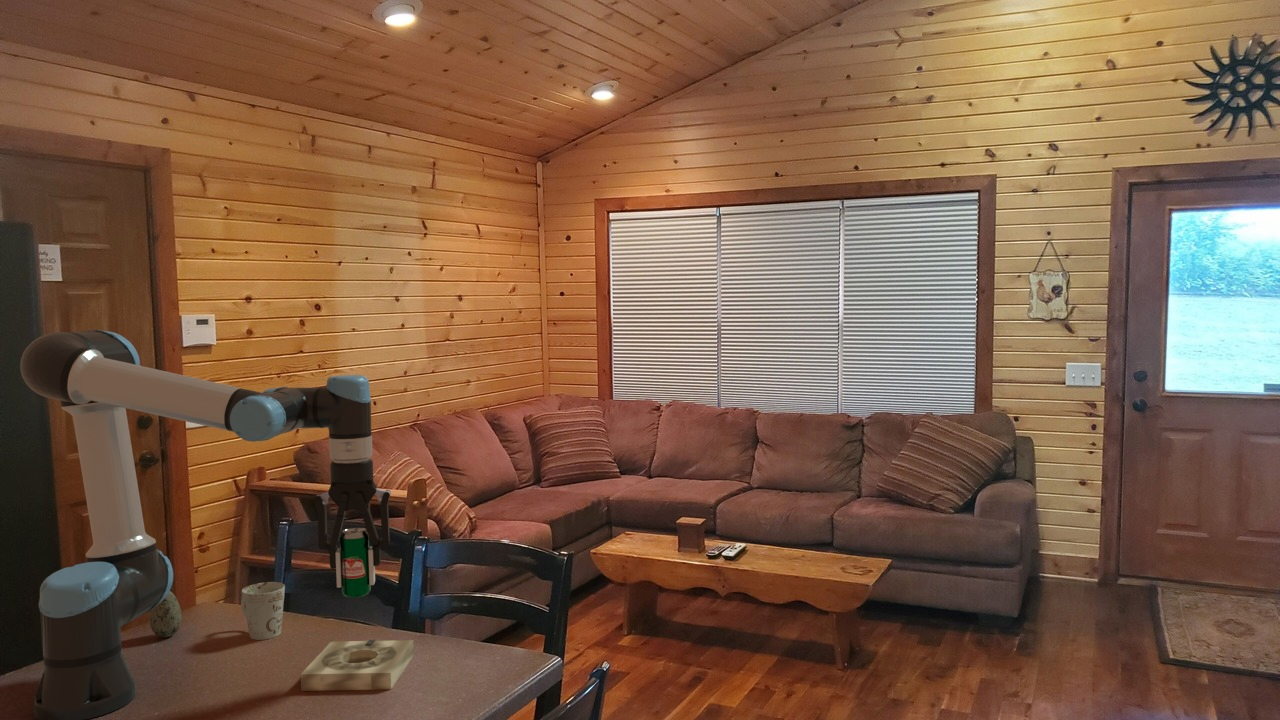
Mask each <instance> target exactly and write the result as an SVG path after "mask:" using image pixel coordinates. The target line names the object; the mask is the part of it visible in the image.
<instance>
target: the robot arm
mask: <svg viewBox="0 0 1280 720" xmlns="http://www.w3.org/2000/svg"><path fill="white" fill-rule="evenodd" d="M19 367H20V374H21V376H22V379H23V381H24V382H25V384H26V385H27V387H28V388H30V390H32V391H33V392H34V393H36V394H38V395H39V396H42V397H45V398H47V399H52V400H57V401H59V402H60V408H61V409H62V410H63V411H65V412H66V413H68V414H70V415H71V416H72V421H73V426H74V432H75V440H76V445H77V451H78V457H79V463H80V470H81V476H82V481H83V482H82V483H83V487H84V494H85V499H86V505H87V506H86V507H87V513H88V519H89V524H90V529H91V530H90V531H91V536H92V546H91V547H89V549H88V551H87V552H86V553H85V559H86V562H82V563H77V564H75V565H73V566H69V567H68V566H67V567H64V568H61V569H59V570H56V571H55V572H53V573H51V574H50V575H49V576H47V577H46V578H45V579H44V580H43V582H42V583H41V585H40V587H39V601H38V609H39V612H40V625H41V644H42V655H43V657H42V658H43V669H42V672H41V677H40V679H39V683H38V686H37V689H36V693H35V695H34V700H33V713H34V714H33V715H34V718H35V719H37V720H88V719H93V718H95V717H100V716H102V715H106V714H108V713H111V712H114V711H116V710H118V709H121V708H122V707H124V706H126V705H128V704H129V703H131V701H132V700H133V699H134V698H135V696H136V682H135V679H134V676H133V675H132V672H131V670H130V668H129V666H128V665H129V664H128V663H127V662H126V661H127V660H126V659H125V657H124V655H123V651H122V632H121V631H122V630H121V629H122V627H123V626H125V625H127V624H128V623H130V622H132V621H134V620H135V619H136V618H139V617H141V616H143V615H146V614H147V613H149V612H151V610H152V609H153V608H155V607H156V606H157V605H158V604H159V603H160V602H162V601H163V600H164V599H165V597H166V596H167V595H168V593H169V591H171V588H172V586H173V583H174V569H173V566H172V563H171V561H170V559H169V558H168V556H166V555H164V554H163V552H162V551H161V550H159V549H158V548H157V547H158V546H157V540H156V538H154V537H152V536H151V535H149V534H148V533H147V532H146V528H145V523H144V517H143V509H142V505H141V504H142V503H141V497H140V491H139V485H138V479H137V473H136V465H135V460H134V453H133V446H132V441H131V435H130V433H131V432H130V428H129V423H128V415H127V410H126V409H129V410H133V411H138V412H142V413H146V414H150V415H155V416H158V417H159V416H160V417H164V418H169V419H174V420H178V421H183V422H187V423H192V424H195V425H201V426H206V427H210V428H213V429H219V430H223V431H229V432H232V433H234V434H236V435H237V436H238V437H239V438H240V439H242V440H244V441H247V442H251V443H252V442H253V443H254V442H264V441H269V440H271V439H273V438H275V437H278V436H280V435H282V434H287V433H289V432H292V431H296V430H299V429H325V428H326V429H328V441H329V444H328V445H329V458H330V459H331V460H332V461H331V462H330V464H329V465H330V467H329V469H330V470H329V471H330V473H329V474H330V487H329V488H328V491H326V492H322V493H317V494H316V496H315V497H314V498H313V501H314V505H315V506H316V509H317V532H318V533H317V534H318V537H317V539H318V540H317V541H318V542H317V543H318V548H319V550H325V551H328V553H329V567H330V569H331V570H333V569H334V570H335V571H336V573H335V574H336V588H339V589H340V588H342V576H341V551H340V548H338V546H339V543H340V536H341V534H342V529H343V524H344V519H345V516H346V512H349V511H352V510H354V511H359V512H360V514H361V517H362V519H363V523H364V525H365V529H366V532H367V533H368V535H369V542H370V544H371V546H369V550H368V555H369V581H370V585H371V586H374V585H375V582H376V568H375V567H379V566H380V564H381V548H382V547H384V546H388V545H389V543H390V539H391V536H390V535H391V534H390V517H389V501H390V497H391V493H392V492H391V490H389V489H386V490H384V489H380V488H378V487H377V485H376V484H375V482H374V461H373V460H372V459H371V458H372V457H373V434H372V397H371V390H370V389H371V387H370V381H369V379H368V377H366V376H365V375H362V374H352V375H351V374H348V375H334V376H333V375H332V376H330V377H328V378H327V380H326V385H325V386H319V387H288V386H281V387H274V388H272V387H270V388H266V389H265V390H264V391H263V392H261V391H255V390H250V389H247V388H246V389H245V388H242V387H238V386H233V385H230V384H225V383H220V382H215V381H211V380H207V379H206V380H205V379H202V378H197V377H193V376H189V375H188V376H187V375H183V374H179V373H175V372H174V373H173V372H170V371H164V370H161V369H156V368H152V367H148V366H142V365H141V361H140V356H139V353H138V352H137V350H136V348H135V347H134V345H133V344H132V343H131V341H129V340H128V339H127V338H125V337H124V336H122V335H121V334H119V333H116V332H113V331H109V330H108V331H107V330H101V329H96V330H95V329H90V330H82V331H67V332H65V331H64V332H63V331H61V332H60V331H59V332H49V333H47V334H44V335H41V336H39V337H38V338H36V339H34V340H33V341H32V342H31V343H30V344H28V345H27V347H26V348H25V349H24V351H23V353H22V356H21V358H20V366H19ZM374 496H376V498H377V502H379V503H380V505H379V506H380V507H379V509H380V526H381V527H380V528H381V538H379V534H378V532H377V529H376V525H375V522H374V519H373V516H372V512H371V508H370V505H369V503H371V500H372V499H373V498H374ZM329 498H330V499H331V500H332V501H333V502H334V504H336V506H337V512H336V517H335V520H334V521H335V522H334V526H333V530H332V534H331V539H330V541H328V523H327V522H328V519H327V511H328V510H327V505H328V504H329Z"/></svg>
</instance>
